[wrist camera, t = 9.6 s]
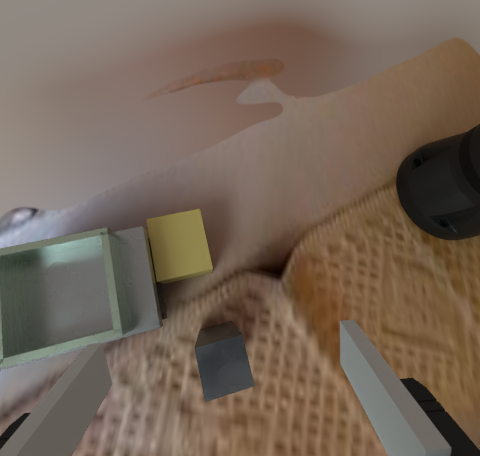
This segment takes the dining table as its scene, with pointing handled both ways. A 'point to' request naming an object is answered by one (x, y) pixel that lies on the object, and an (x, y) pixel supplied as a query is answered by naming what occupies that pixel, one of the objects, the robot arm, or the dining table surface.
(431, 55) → the dining table surface
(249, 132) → the dining table surface
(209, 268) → the block
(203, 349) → the pin
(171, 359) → the dining table surface
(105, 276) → the box
